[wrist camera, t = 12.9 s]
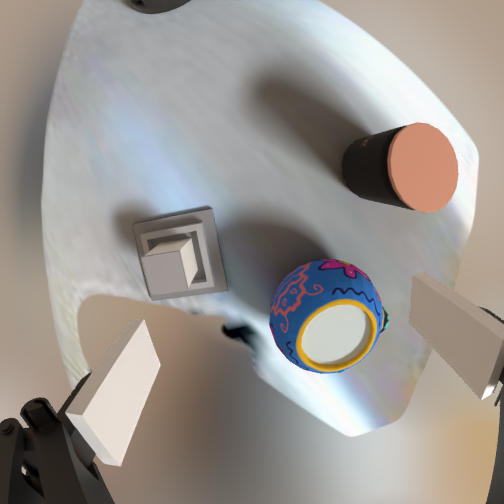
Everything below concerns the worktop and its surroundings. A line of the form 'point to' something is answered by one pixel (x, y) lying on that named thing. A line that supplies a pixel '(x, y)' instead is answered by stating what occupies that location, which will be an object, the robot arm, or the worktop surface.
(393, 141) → the coffee jar
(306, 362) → the ceramic pot
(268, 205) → the worktop surface
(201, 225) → the socket plate
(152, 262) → the plug block
